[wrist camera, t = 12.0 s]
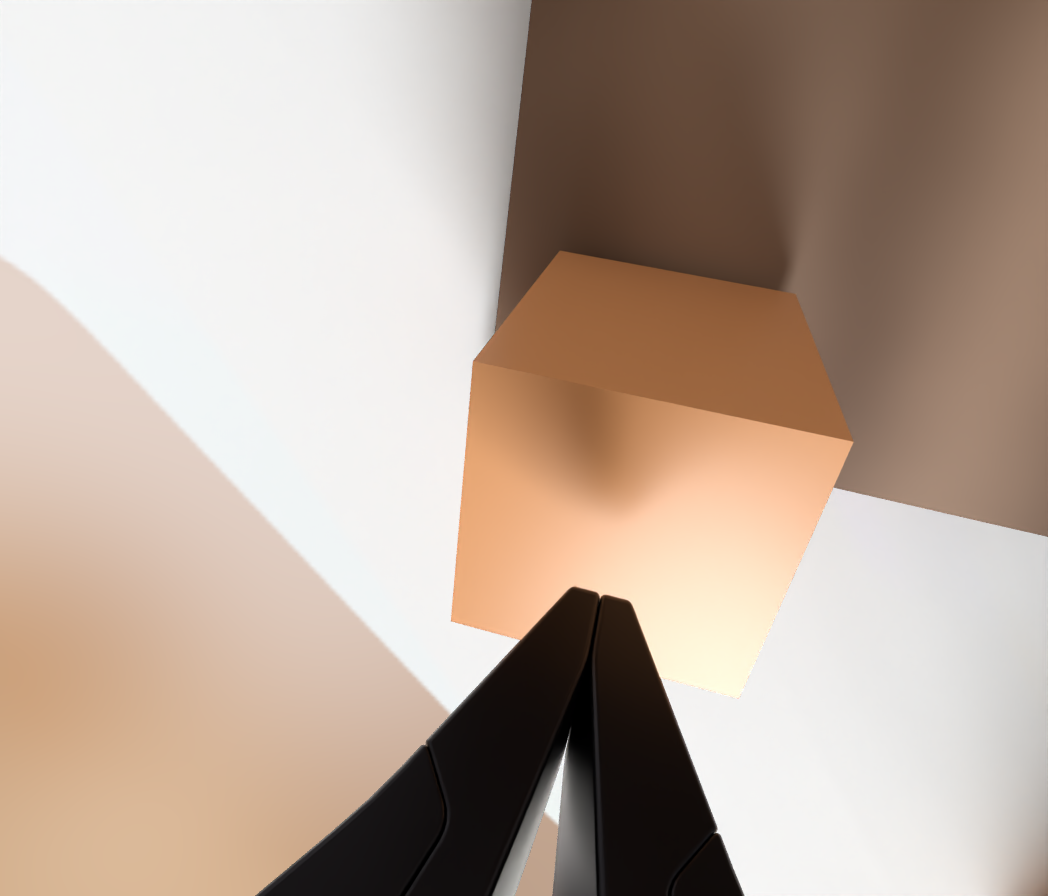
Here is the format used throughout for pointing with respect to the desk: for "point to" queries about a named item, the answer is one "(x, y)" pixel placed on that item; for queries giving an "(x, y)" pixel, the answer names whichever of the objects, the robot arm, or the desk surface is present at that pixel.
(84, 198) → the desk surface
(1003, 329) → the walnut board
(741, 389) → the peach wooden cube
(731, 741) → the desk surface
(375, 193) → the desk surface
